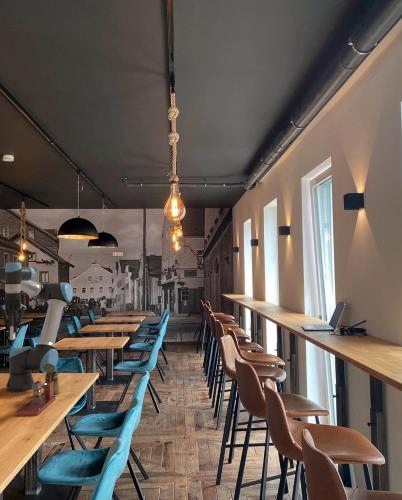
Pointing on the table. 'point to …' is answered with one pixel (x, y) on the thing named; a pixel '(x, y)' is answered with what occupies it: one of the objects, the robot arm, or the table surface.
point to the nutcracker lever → (33, 386)
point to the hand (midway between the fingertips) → (12, 339)
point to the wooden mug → (51, 378)
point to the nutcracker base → (38, 407)
